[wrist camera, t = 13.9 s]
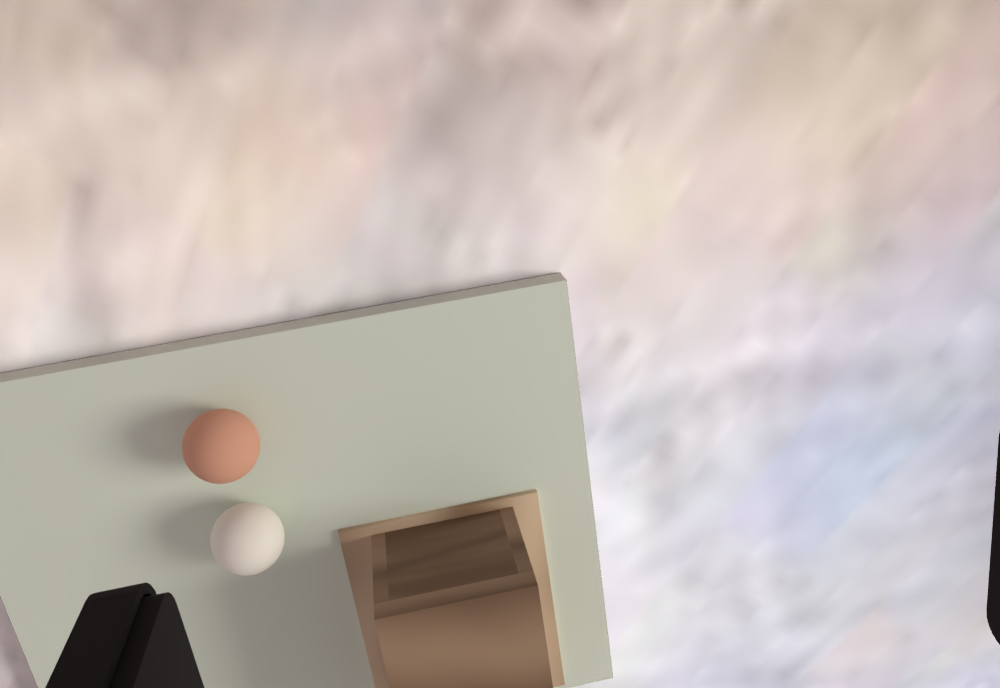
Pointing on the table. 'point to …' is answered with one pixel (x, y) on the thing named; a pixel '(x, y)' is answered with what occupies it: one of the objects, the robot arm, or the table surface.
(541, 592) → the cork pad
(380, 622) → the walnut cover
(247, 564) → the cream ball
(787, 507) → the table surface
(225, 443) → the terracotta ball
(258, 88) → the table surface
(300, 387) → the sage board
